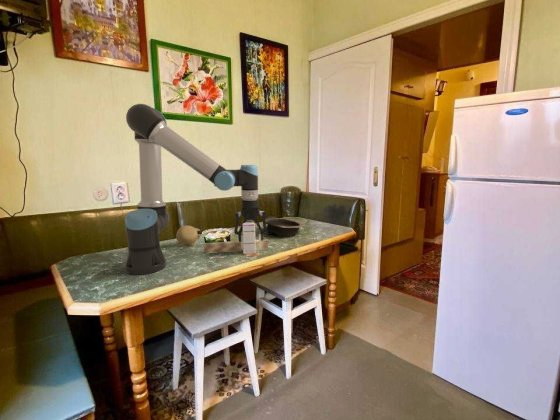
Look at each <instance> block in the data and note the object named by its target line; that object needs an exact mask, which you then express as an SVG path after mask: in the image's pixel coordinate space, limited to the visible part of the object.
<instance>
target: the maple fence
mask: <svg viewBox="0 0 560 420" xmlns="http://www.w3.org/2000/svg"><path fill="white" fill-rule="evenodd" d="M255 246H256V250H257V251H258V250H260V251H261V250H269V240H268V239H267V238H266V239H264V238H263V241H261V248H259V239H255ZM203 252H204V254H213V253H216V254H217V253H229V252H243V249H241V242H239V240H235V241H221V242H220V241H217V242H204V243H203ZM245 256H246V258H247V257H260V253H255V254H245ZM224 257H225V256H223V255H221V256H219V255H218V256H211V257H209V260H221V259H225V258H224Z"/></svg>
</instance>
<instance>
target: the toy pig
mask: <svg viewBox="0 0 560 420" xmlns="http://www.w3.org/2000/svg"><path fill="white" fill-rule="evenodd" d="M175 236H176V241H177V243H178V244H179V245H181V247H185V246H186V247H194V245H195V244H196V242H197V241H198V240H199V239H200V238H201V237H202V231H201V229H199V228H197V227H194V226H192V225H183V226H180V228H178V229H177V231H176V234H175Z"/></svg>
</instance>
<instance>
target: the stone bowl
mask: <svg viewBox="0 0 560 420" xmlns="http://www.w3.org/2000/svg"><path fill="white" fill-rule="evenodd" d="M265 222H266V228H267V232H266V234H268V235H273V234H274V235H276V236H277V237H278V238H279V237H280V238H285V237H287V238H288V237H291V236H296V235H297V233H298V232H299V230H300V228H302V227H304V226H306V223H305V222H302V221H300V220H297V219H292V218H284V217H283V218H282V217H281V218H278V217H276V216H273V215H270V216H267V217H265Z"/></svg>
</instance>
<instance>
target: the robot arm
mask: <svg viewBox="0 0 560 420" xmlns="http://www.w3.org/2000/svg"><path fill="white" fill-rule="evenodd" d="M125 121H126V123H127V126H128V127H129V129H131V130H132V131H133V132H134V141H135V142H137V144H138V153H139V154H138V155H139V178H140V201H139V202H138V203H137V209H135V210H131V211H129V212H127V214H125V217H124V218H125V220H124V225H125V232H126V240H127V241H126V242H127V249H128V254H127V257H126V261H125V267H124V268H125V272H126V273H127V274H128V275H133V276H134V275H135V276H137V275H138V276H139V275H150V274H152V273H153V274H154V273H157V272H159V271H161V270H163V269H165V268H166V267H167V260H166V258H165V255H164V253H163V251H162V249H161V245H160V244H161V243H160V234H161V233H162V232H163V231H164V230H165V229H166V228H167V226H168V225H169V219H170V215H169V213H168V211H167V203H166V202H165V201H164V200H163V177H162V176H163V175H162V149H164V150H166V151H167V152H168V153H170V154H172V155H173V156H175V157H176V158H177V159H178V160H179V161H181V162H183V163H184V164H185V165H187V166H188V167H190V168H191V169H193V170H194V171H196V173H198V174H199V175H201V176H202V177H203V178H205V179H207V180H208V181H209V182H211V183H212V184H213V186H214V187H216V188H217V189H218V190H220V191H224V192H226V191H229V190H231V189H232V188H234V187H240V188H241V189H240V190H241V191H240V194H241V199H242V200H241V210H240V211H238V212H237V211H236V212H235V224H234V231H233V233H234V235H237V237H238V239H237V241H239V242H241V249H243V234H242V231H243V223H246V221H254V222H255V225H256V226H257V229H258V231H259V232H258V240H259V248H261V241H263V239H264V234H267V228H266V227H267V224H266V222H265V219H266V212H265V211H264V210H260V209H259V200H258V199H259V173H258V166H257V165H256V164H241V165H240V168H238V169H226V168H225V167H224V166H222V165H221V164H220V163H218V162H217V161H215V160H214V159H212V158H211V157H210V156H208V155H207V154H205V153H204V152H203V151H201V150H200V149H199V148H197V147H196V146H194V144H192V143H190V141H188V140H186V139H185V137H182V136H181V135H180V134H178V133H177V132H175V131H174V130H173V129H171V128H170V127H169V126H168V125H167V124H168V123H167V119H166V117H165V116H164V115H163V113H162V112H161V111H159V110H158V109H157V108H153V107H152V106H150V105H148V104H145V103H135V104H134V105H131V106H130V107H129V108H128V109H127V112H126V114H125ZM259 215H260V216H261V221H262V227H261V224H260V222H259V220H258V216H259ZM241 216H243V220H242V221H243V222H241V225H240V226H239V221H240V217H241ZM238 228H239V230H238ZM262 228H263V229H262Z"/></svg>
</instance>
